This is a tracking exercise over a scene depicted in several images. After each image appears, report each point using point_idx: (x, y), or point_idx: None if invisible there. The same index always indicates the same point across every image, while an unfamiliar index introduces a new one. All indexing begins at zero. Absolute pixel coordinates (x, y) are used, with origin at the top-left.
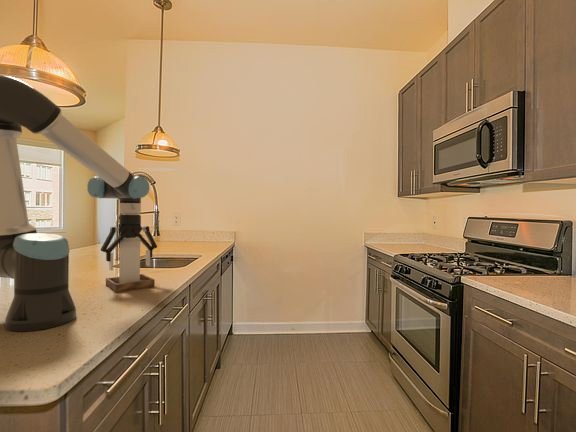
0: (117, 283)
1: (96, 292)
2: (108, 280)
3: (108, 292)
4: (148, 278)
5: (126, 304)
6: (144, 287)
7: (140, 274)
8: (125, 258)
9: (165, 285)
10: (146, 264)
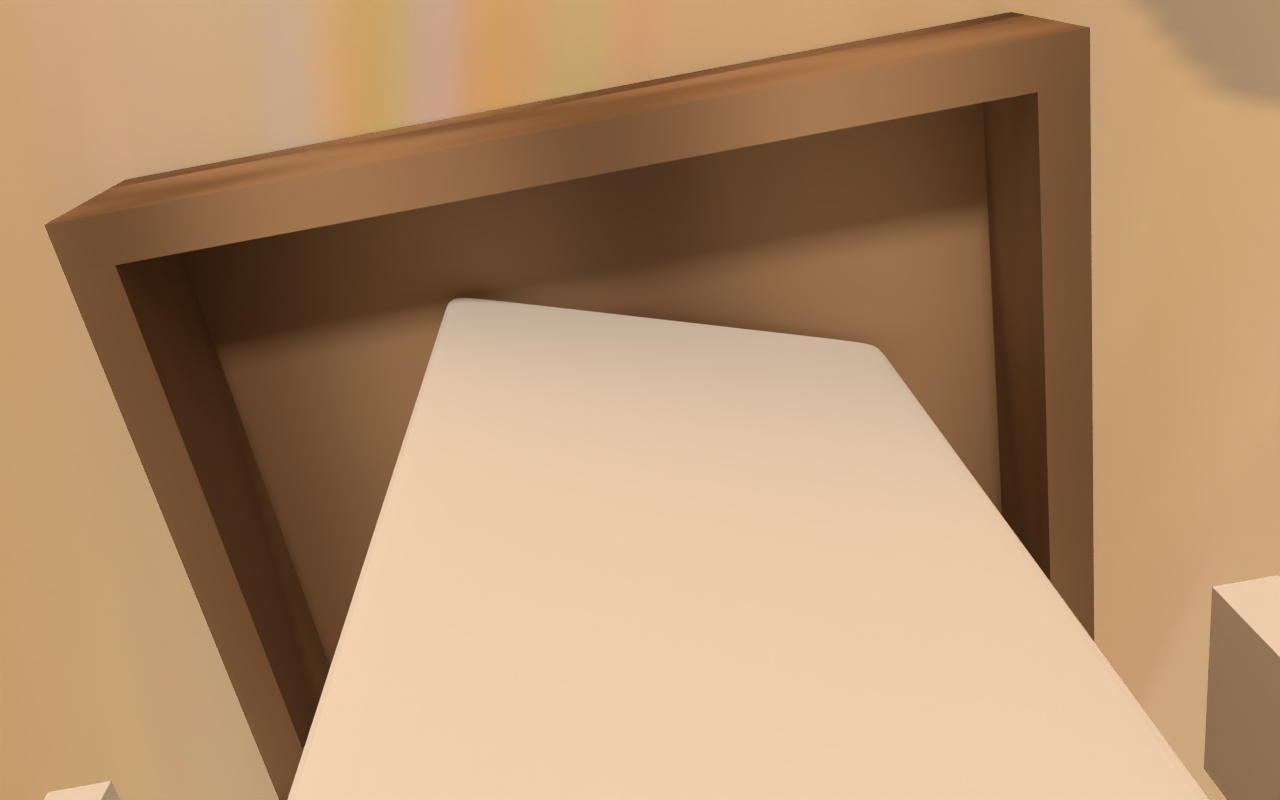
0: (387, 284)
1: (46, 717)
2: (157, 487)
3: (255, 793)
4: None
5: None
6: None
7: (1012, 96)
8: None
9: None
10: (1236, 671)
